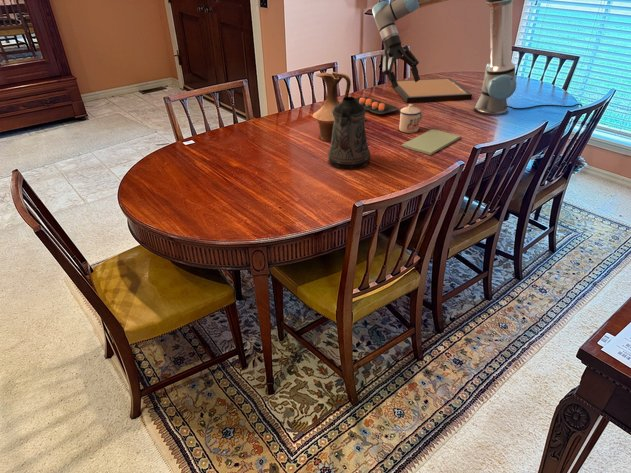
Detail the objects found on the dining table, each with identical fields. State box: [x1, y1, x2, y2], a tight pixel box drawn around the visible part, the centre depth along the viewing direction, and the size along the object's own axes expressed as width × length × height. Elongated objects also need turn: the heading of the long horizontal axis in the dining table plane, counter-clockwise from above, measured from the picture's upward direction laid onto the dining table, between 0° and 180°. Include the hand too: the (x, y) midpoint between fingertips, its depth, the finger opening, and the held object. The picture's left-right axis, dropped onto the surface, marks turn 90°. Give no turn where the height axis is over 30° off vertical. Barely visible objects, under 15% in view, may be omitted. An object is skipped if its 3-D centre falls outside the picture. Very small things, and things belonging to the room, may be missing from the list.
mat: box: [401, 128, 461, 156], centre depth 185 cm, size 24×14×1 cm, turn 136°
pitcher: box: [312, 71, 352, 142], centre depth 186 cm, size 18×17×28 cm
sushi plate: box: [354, 96, 400, 122], centre depth 222 cm, size 29×30×4 cm
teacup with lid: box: [398, 103, 424, 134], centre depth 196 cm, size 12×9×12 cm
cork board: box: [391, 77, 473, 104], centre depth 247 cm, size 36×3×35 cm
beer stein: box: [327, 96, 371, 171], centre depth 164 cm, size 16×19×25 cm
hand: (406, 84), depth 196 cm, fingers open, 13 cm apart
